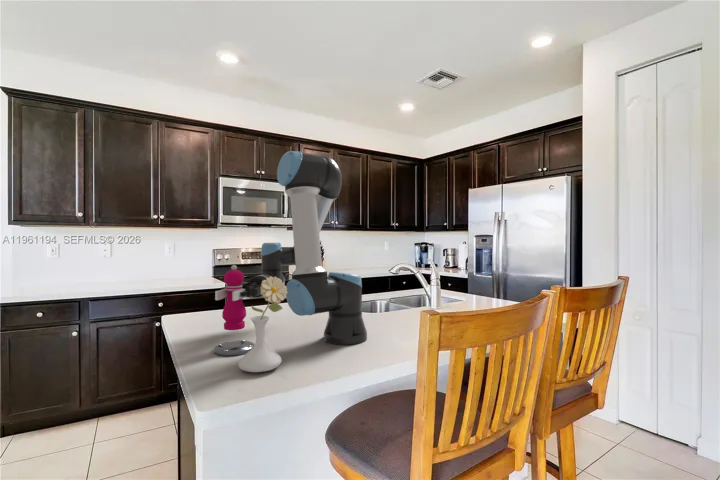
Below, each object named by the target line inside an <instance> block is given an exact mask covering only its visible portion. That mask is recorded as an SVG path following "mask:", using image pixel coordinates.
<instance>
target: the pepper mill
mask: <svg viewBox="0 0 720 480" xmlns="http://www.w3.org/2000/svg"><path fill="white" fill-rule="evenodd" d="M244 281H245V275H244V272H242V271H241V270H238V266H237V265H235V264H232V265H231V266H230V270H228V271H226V273H225V274H224V277H223V282H224V283H225V284H226V286H225V287H226V290H227V298H226V302H225V303H224V304H225V305H224V306H223V309H222V319H223V320H224V321H225V322H223V329H224V330H226V331H238V330H243V329H244V328H246V322H245V320H244V319H245V318H246V316H247V309H246V307H245V304H244V302H243V298H242V299H239V300H236V301H232V292H234V291H237V290H241V289H243V288H242V285H241V284H243V283H244Z"/></svg>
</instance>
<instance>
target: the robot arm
mask: <svg viewBox="0 0 720 480" xmlns="http://www.w3.org/2000/svg"><path fill="white" fill-rule="evenodd" d="M276 179H277V182H278V184H279V186H281V187H284V192H285V195H286V196H288V197H289V198H290V207H291V208H290V211H291V223H292V225H291V226H292V233H293V234H292V235H293V246H287V247H286V246H282V244H281V242H264V243H262V245H261V253H260V254H261V255H260V256H261V258H260V259H261V274H258V275H256V276H251V277H250V278H249V279H248V280H247V282H244V283H242V284H241V285H242V288H243V289H241V290H237V291H234V292H232V301H236V300H239V299H242V300H243V299H244V298H246V297H247V298H249V297H253V298H260V297H263V295H262V294H261V293H260V292H261V287H262V286H261V283H262V281H264V280H266V278H269V277H270V276H272V277H273V278H274V277H277V279H278V278H279V279H280V280H282V283H284V284H285V283H286V277H285V276H284V274H283V273H282V267H287V266H295V270H293V272H292V273H291V279H290V280H289V281H288V282H287V283H286V285H285V286H286V288H287V290H286V291H287V294H286V298H285V299H286V302H287V304H288V307H289V308H290V310H291V312H292V313H294V314H295V315H296V316H302V317H303V316H313V315H316V314H317V315H318V314H321V313H322V314H324V313H328V318H327V321H326V326H325V327H324V331H323V340H324V342H326V343H329V344H333V345H344V346H345V345H354V344H355V345H356V344H361V343H364V342H365V341H367V339H368V331H367V328H366V325H365V321H364V319H363V298H362V297H363V285H362V284H363V283H362V277H361V276H360V275H359V274H356V273H348V272H336V271H329V272H328V270H327V269H325V268H324V266H323V261H322V252H321V251H322V248H321V239H320V237H321V236H320V232H321V230H322V227H323V225H324V223H325V222H326V219H327V216H328V215H329V214H328V213H329V211H330V209H331V206H332V204H333V202H334V201H335V200H337V199H338V197H339V194H340V192H341V191H342V190H341V189H342V181H343V180H342V179H343V177H342V171H341V169H340V167H339V165H338V163H337V162H336V161H335V160H334V159H333V158H331V157H329V156H326V155H318V154H313V153H307V152H303V151H301V150H300V151H299V150H298V151H293V150H289V151H286V152H285V153H284V154H283V155H282V156H281V158H280V160H279V163H278V166H277V170H276ZM214 294H215V295H214V300H215V301H220V300H223V299H227V290H226V286H224V287H220V289H219V290H215V292H214Z"/></svg>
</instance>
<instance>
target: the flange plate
mask: <svg viewBox="0 0 720 480" xmlns="http://www.w3.org/2000/svg"><path fill="white" fill-rule="evenodd" d="M254 346H255V343H254V342H253V341H249V340H245V339H241V340H232V341H226V342H223V343H218V344H217V345H216V346H214V348H213V349H214V350H213V353H214V355H216V356H217V357H238V356H244V355H245V354H246V353H248V352H249V351H250V350H251V349H252V348H253V347H254Z"/></svg>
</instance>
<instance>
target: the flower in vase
mask: <svg viewBox="0 0 720 480" xmlns="http://www.w3.org/2000/svg"><path fill="white" fill-rule="evenodd" d="M261 286H262V287H261V292H260V293H261V294H262V295H263V296H262V298H264V300H265V301H266V302H268V303H267V305H266V307H265V309H264V310H263V309H260V308H257V307H255V306H253V305H251V309H252V310H253V311H255V312H259V313H262V315H256V316H252V317H250V320H251V322H252V323H253V327H254V329H255V331H254V332H255V343H254V347H253V348H252V349H251V350H250V351H249V352H248V353H246V354H243V355H242V357H241V358H240V360H239V362H238V364H237V365H238V367H239V369H240V370H242V371H244V372H248V373H263V372H267V371H268V372H269V371H271V370H274V369H276V368H277V367H279V366H280V365H281V363H282V362H283V361H282V357H281V355H279V354H278V353H277V352H276V351H274V350H273V349H271V348H270V347H269V346H268V345H267V344H266V342H265V332H266V331H265V330H266V325H267V322H268V320H269V319H270V316H267V315H265V314H266V311H267V310H268V309H269V310H270V311H271V312H273V313H277V312H280V311H281V310H283V306H282V305H280V303H281V302H282V301H284V300H285V299H286V294H287V291H286V290H287V287H286V285H285V284H284V283H282V280H280V279H279V278H278V279H277V277H274V278H273V277H272V276H270V277H269V278H266V280H264V281H262V283H261ZM270 303H271V304H270Z"/></svg>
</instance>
